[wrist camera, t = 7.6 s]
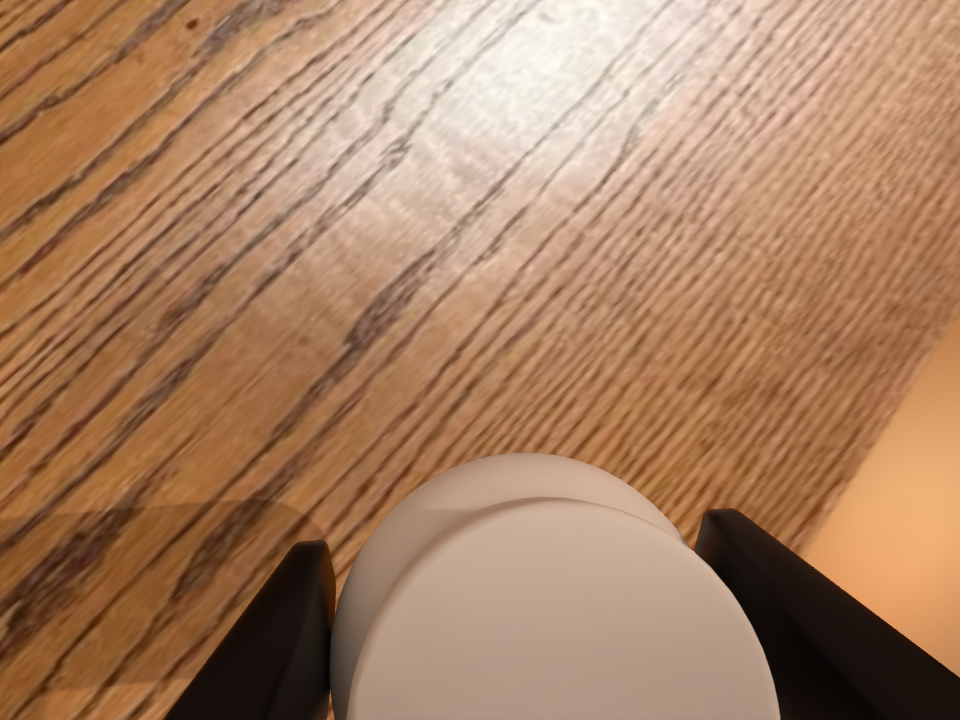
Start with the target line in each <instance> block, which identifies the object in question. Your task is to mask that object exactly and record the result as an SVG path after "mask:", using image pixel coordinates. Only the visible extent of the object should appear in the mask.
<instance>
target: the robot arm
mask: <svg viewBox="0 0 960 720" xmlns="http://www.w3.org/2000/svg"><path fill="white" fill-rule="evenodd" d="M695 553H696V554H697V555H698V556H699V557H700V558H701V559H702V560H703V561H704V562H706V563H707V564H708V565H709V566H710V567H711V568H712V569H713V571H714V572H715V573H716V574H717V575H718V577H719V578H720V579H721V580H722V581H723V583H724V584H725V585H726V586H727V587H728V589H729V590H730V591H731V592H732V594H733V595H734V597H735V598H736V600H737V601H738V603H739V604H740V606H741V608H742V610H743V611H744V613H745V615H746V616H747V618H748V620H749V622H750V623H751V625H752V627H753V629H754V632H755V634H756V636H757V638H758V640H759V642H760V644H761V646H762V648H763V651H764V654H765V657H766V660H767V663H768V666H769V669H770V672H771V675H772V678H773V682H774V686H775V691H776V695H777V700H778V705H779V712H780V720H960V678H959V677H958V676H957V675H955V674H954V673H953V672H951V671H950V670H949V669H948V668H946V667H945V666H944V665H942V664H941V663H939V662H938V661H937V660H936V659H934V658H933V657H932V656H930V655H929V654H928V653H926V652H925V651H923V650H922V649H921V648H920V647H918V646H917V645H916V644H914V643H913V642H912V641H910V640H909V639H908V638H906V637H905V636H904V635H902V634H901V633H900V632H898V631H897V630H896V629H894V628H893V627H892V626H891V625H889V624H888V623H887V622H885V621H884V620H882V619H881V618H880V617H879V616H877V615H876V614H874V613H873V612H872V611H870V610H869V609H868V608H867V607H865V606H864V605H863V604H861V603H860V602H859V601H857V600H856V599H855V598H853V597H852V596H851V595H849V594H848V593H847V592H845V591H844V590H842V589H841V588H840V587H839V586H837V585H836V584H835V583H833V582H832V581H831V580H829V579H828V578H827V577H825V576H824V575H823V574H822V573H820V572H819V571H818V570H816V569H815V568H814V567H812V566H811V565H810V564H808V563H807V562H806V561H804V560H803V559H802V558H800V557H799V556H798V555H796V554H795V553H794V552H792V551H791V550H790V549H788V548H787V547H786V546H785V545H783V544H782V543H781V542H779V541H778V540H777V539H775V538H774V537H773V536H771V535H770V534H769V533H767V532H766V531H765V530H763V529H762V528H761V527H759V526H758V525H757V524H755V523H754V522H753V521H751V520H750V519H749V518H747V517H746V516H745V515H743V514H742V513H741V512H739V511H738V510H736V509H733V508H724V509H711V510H707V511H706V512H705V513H704V515H703V518H702V522H701V526H700V530H699V534H698V538H697V542H696V546H695ZM335 599H336V583H335V576H334V571H333V567H332V562H331V558H330V553H329V549H328V545H327V544H326V542H325V541H323V540H315V541H302V542H298V543H296V544H295V545H293V547H292V548H291V549H290V550H289V552H288V553H287V554H286V556H285V557H284V558H283V560H282V561H281V562H280V564H279V565H278V567H277V568H276V569H275V571H274V572H273V573H272V575H271V576H270V577H269V579H268V580H267V581H266V583H265V584H264V585H263V587H262V588H261V589H260V591H259V592H258V593H257V595H256V596H255V597H254V599H253V600H252V601H251V603H250V604H249V605H248V607H247V608H246V609H245V611H244V612H243V613H242V615H241V616H240V617H239V619H238V620H237V621H236V623H235V624H234V625H233V627H232V628H231V629H230V631H229V632H228V633H227V635H226V636H225V637H224V639H223V640H222V641H221V643H220V644H219V645H218V647H217V648H216V649H215V651H214V652H213V653H212V655H211V656H210V658H209V659H208V660H207V662H206V663H205V664H204V666H203V667H202V668H201V670H200V671H199V672H198V674H197V675H196V676H195V678H194V679H193V680H192V682H191V683H190V684H189V686H188V687H187V688H186V690H185V691H184V692H183V694H182V695H181V696H180V698H179V699H178V700H177V702H176V703H175V704H174V706H173V707H172V708H171V710H170V711H169V712H168V714H167V715H166V716H165V718H164V719H163V720H327V713H328V706H329V695H330V677H329V660H330V641H331V633H332V627H333V623H334V616H335Z"/></svg>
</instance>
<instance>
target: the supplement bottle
mask: <svg viewBox="0 0 960 720" xmlns="http://www.w3.org/2000/svg"><path fill="white" fill-rule="evenodd" d="M329 677H330V689H331V698H332V705H333V711H334V717H335V720H780V712H779V705H778V700H777V695H776V691H775V686H774V682H773V678H772V675H771V672H770V669H769V666H768V663H767V660H766V657H765V654H764V651H763V648H762V646H761V644H760V642H759V640H758V638H757V636H756V634H755V632H754V629H753V627H752V625H751V623H750V622H749V620H748V618H747V616H746V615H745V613H744V611H743V610H742V608H741V606H740V604H739V603H738V601H737V600H736V598H735V597H734V595H733V594H732V592H731V591H730V590H729V589H728V587H727V586H726V585H725V584H724V583H723V581H722V580H721V579H720V578H719V577H718V575H717V574H716V573H715V572H714V571H713V569H712V568H711V567H710V566H709V565H708V564H707V563H706V562H704V561H703V560H702V559H701V558H700V557H699V556H698V555H697V554H696V553H695V552H693V551H692V550H691V549H690V547H689V545H688V544H687V543H686V541H685V540H684V538H683V537H682V536H681V534H680V533H679V532H678V530H677V529H676V528H675V527H674V526H673V524H672V523H671V522H670V521H669V520H668V519H667V518H666V517H665V516H664V515H663V514H662V513H661V512H660V511H659V510H658V509H657V508H656V507H655V506H654V505H653V504H652V503H651V502H650V501H649V500H647V499H646V498H645V497H644V496H643V495H641V494H640V493H639V492H638V491H637V490H635V489H634V488H632V487H631V486H629V485H628V484H626V483H625V482H623V481H622V480H620V479H619V478H617V477H615V476H613V475H612V474H610V473H608V472H606V471H604V470H602V469H600V468H597V467H594V466H592V465H589V464H587V463H584V462H581V461H578V460H574V459H571V458H566V457H561V456H557V455H551V454H544V453H508V454H499V455H494V456H488V457H484V458H480V459H476V460H472V461H469V462H466V463H464V464H461V465H458V466H455V467H453V468H451V469H449V470H447V471H445V472H443V473H441V474H438V475H437V476H435V477H433V478H432V479H430V480H429V481H427V482H425V483H424V484H422V485H421V486H419V487H418V488H416V489H415V490H414V491H412V492H411V493H410V494H408V495H407V496H406V497H405V498H404V499H403V500H401V501H400V502H399V503H398V504H397V505H396V506H395V507H394V508H393V509H392V510H391V511H390V513H389V514H388V515H387V516H386V517H385V518H384V519H383V520H382V521H381V523H380V524H379V525H378V526H377V527H376V529H375V530H374V531H373V533H372V534H371V536H370V537H369V539H368V540H367V542H366V543H365V545H364V546H363V548H362V549H361V551H360V553H359V554H358V556H357V558H356V560H355V562H354V564H353V565H352V568H351V570H350V572H349V575H348V577H347V579H346V581H345V584H344V587H343V590H342V593H341V596H340V599H339V602H338V605H337V610H336V614H335V618H334V623H333V627H332V633H331V641H330V660H329Z"/></svg>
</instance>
